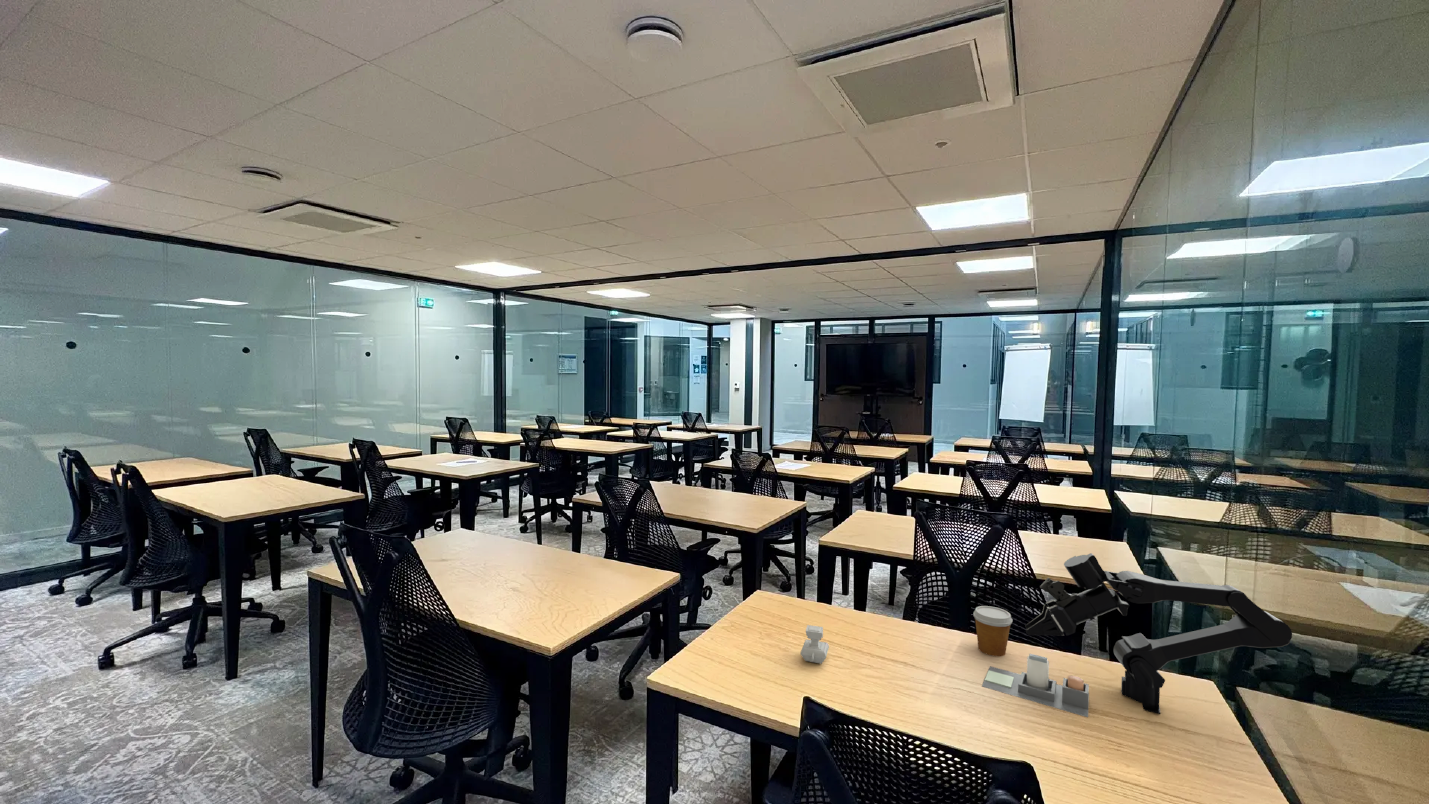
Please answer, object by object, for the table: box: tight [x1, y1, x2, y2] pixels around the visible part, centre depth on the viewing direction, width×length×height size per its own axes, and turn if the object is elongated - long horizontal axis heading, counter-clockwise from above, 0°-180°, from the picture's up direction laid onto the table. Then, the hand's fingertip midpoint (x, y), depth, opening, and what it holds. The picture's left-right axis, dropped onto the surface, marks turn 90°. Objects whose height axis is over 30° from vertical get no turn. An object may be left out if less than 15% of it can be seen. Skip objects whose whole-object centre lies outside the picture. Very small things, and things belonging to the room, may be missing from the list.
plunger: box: [1067, 675, 1085, 691], centre depth 125 cm, size 3×3×3 cm
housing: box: [981, 665, 1090, 718], centre depth 130 cm, size 21×12×5 cm, turn 55°
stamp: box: [800, 624, 830, 665], centre depth 146 cm, size 9×7×8 cm
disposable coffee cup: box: [972, 605, 1013, 657], centre depth 150 cm, size 10×10×12 cm
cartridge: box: [1026, 653, 1050, 691], centre depth 130 cm, size 4×4×8 cm
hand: (1026, 630), depth 135 cm, fingers open, 9 cm apart
